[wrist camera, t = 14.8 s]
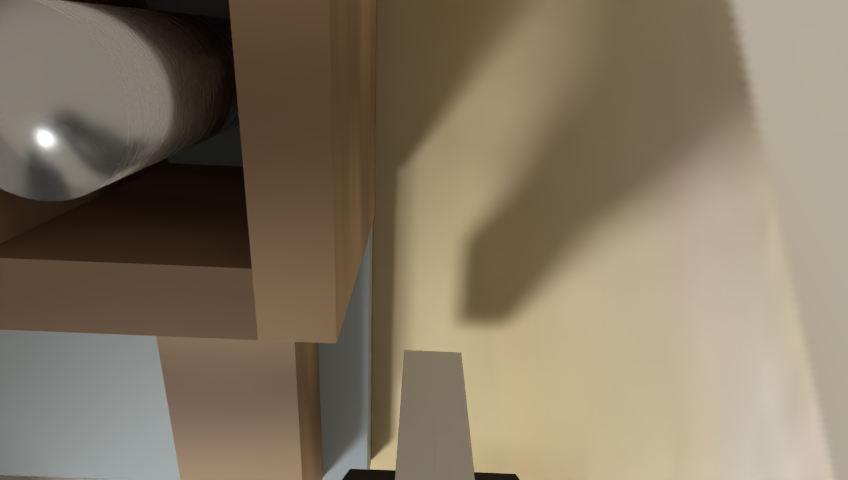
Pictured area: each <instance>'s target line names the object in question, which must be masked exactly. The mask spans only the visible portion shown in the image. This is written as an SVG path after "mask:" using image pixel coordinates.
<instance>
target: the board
mask: <svg viewBox="0 0 848 480" xmlns="http://www.w3.org/2000/svg"><path fill="white" fill-rule="evenodd" d="M146 2H147V9H149V10H158V11H167V12H177V13H186V14H195V15H205V16H214V17H223V18H230V9H229V0H146ZM168 160H169V163H178V164H200V165H223V166H243V160H242V148H241V137H240V125H238V126H236V127H234V128H232V129H229V130H227V131H225V132H223V133H221V134H218V135H216V136H214V137H212V138H210V139H207V140H205V141H203V142H201V143H199V144H196V145H194V146H192V147H190V148H188V149H185V150H183V151H181V152H179V153H176V154H174V155H172V156H170V157H168ZM372 240H373V224H372V227H371V231H370V234H369V237H368V241H367V244H366V247H365V251H364V254H363V257H362V261H361V264H360V267H359V271H358V274H357V277H356V281H355V284H354V287H353V291H352V294H351V297H350V301H349V304H348V307H347V311H346V314H345V317H344V321H343V324H342V327H341V331H340V334H339V337H338V341H337V343H318V354H319V381H320V408H321V435H322V462H323V479H322V480H342V479H343V478H344V476H345V475H346V473H347V472H348V471H349V469H367V470H370V463H371V360H372ZM0 475H5V476H31V477H56V478H82V479H107V480H180V474H179V468H178V462H177V456H176V450H175V444H174V438H173V433H172V427H171V421H170V415H169V409H168V403H167V397H166V391H165V385H164V379H163V374H162V368H161V362H160V356H159V350H158V344H157V338H156V336H144V335H120V334H95V333H71V332H47V331H22V330H0Z"/></svg>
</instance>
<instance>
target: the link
mask: <svg viewBox="0 0 848 480" xmlns="http://www.w3.org/2000/svg"><path fill="white" fill-rule="evenodd" d="M65 1H74V2H84V3H93V4H102V5H112V6H121V7H130V8H139V9H147V2H146V0H65ZM229 9H230V21H231V32H232V44H233V55H234V67H235V79H236V90H237V102H238V113H239V125H240V137H241V148H242V160H243V166H223V165H200V164H178V163H169V160H168V158H165V159H163V160H161V161H159V162H157V163H154V164H152V165H150V166H148V167H146V168H143V169H141V170H139V171H137V172H135V173H132V174H130V175H128V176H126V177H124V178H121V179H119V180H117V181H115V182H113V183H110V184H108V185H106V186H104V187H102V188H99V189H97V190H95V191H93V192H90V193H88V194H86V195H84V196H81V197H78V198H74V199H70V200H64V201H41V200H34V199H29V198H25V197H21V196H18V195H15V194H12V193H10V192H8V191H5V190H3V189H1V188H0V330H22V331H47V332H71V333H95V334H120V335H144V336H156V338H157V344H158V350H159V356H160V362H161V368H162V374H163V379H164V385H165V391H166V397H167V403H168V409H169V415H170V421H171V427H172V433H173V438H174V444H175V450H176V456H177V462H178V468H179V474H180V480H322V479H323V462H322V435H321V408H320V381H319V354H318V343H337V341H338V337H339V334H340V331H341V327H342V324H343V321H344V317H345V314H346V311H347V307H348V304H349V301H350V297H351V294H352V291H353V287H354V284H355V281H356V277H357V274H358V271H359V267H360V264H361V261H362V257H363V254H364V251H365V247H366V244H367V241H368V237H369V234H370V231H371V227H372V224H373V221H374V217H375V113H376V0H229Z"/></svg>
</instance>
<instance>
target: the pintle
mask: <svg viewBox="0 0 848 480" xmlns="http://www.w3.org/2000/svg"><path fill="white" fill-rule="evenodd" d="M238 125H239V113H238V102H237V90H236V79H235V67H234V55H233V44H232V32H231V21H230V18H223V17H214V16H205V15H195V14H186V13H177V12H167V11H158V10H149V9H139V8H130V7H121V6H112V5H102V4H93V3H84V2H74V1H65V0H0V188H1V189H3V190H5V191H8V192H10V193H12V194H15V195H18V196H21V197H25V198H29V199H34V200H41V201H64V200H70V199H74V198H78V197H81V196H84V195H86V194H88V193H90V192H93V191H95V190H97V189H99V188H102V187H104V186H106V185H108V184H110V183H113V182H115V181H117V180H119V179H121V178H124V177H126V176H128V175H130V174H132V173H135V172H137V171H139V170H141V169H143V168H146V167H148V166H150V165H152V164H154V163H157V162H159V161H161V160H163V159H165V158H168V157H170V156H172V155H174V154H176V153H179V152H181V151H183V150H185V149H188V148H190V147H192V146H194V145H196V144H199V143H201V142H203V141H205V140H207V139H210V138H212V137H214V136H216V135H218V134H221V133H223V132H225V131H227V130H229V129H232V128H234V127H236V126H238Z"/></svg>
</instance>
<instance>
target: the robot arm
mask: <svg viewBox="0 0 848 480" xmlns="http://www.w3.org/2000/svg"><path fill="white" fill-rule="evenodd" d="M342 480H519V478H518V477H517V476H516V474H500V473H476V472H474V467H473V458H472V449H471V439H470V430H469V421H468V412H467V403H466V393H465V384H464V375H463V366H462V357H461V353H457V352H434V351H412V350H404V363H403V377H402V391H401V404H400V418H399V432H398V446H397V459H396V471H391V470H367V469H349V471H348V472H347V473H346V475H345V476H344V478H343V479H342Z"/></svg>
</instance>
